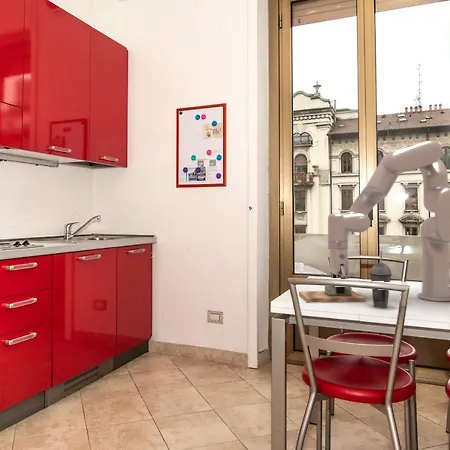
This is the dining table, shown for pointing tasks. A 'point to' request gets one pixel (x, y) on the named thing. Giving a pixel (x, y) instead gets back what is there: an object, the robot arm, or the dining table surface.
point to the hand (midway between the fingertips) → (338, 291)
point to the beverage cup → (380, 274)
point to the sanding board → (329, 297)
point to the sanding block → (332, 291)
